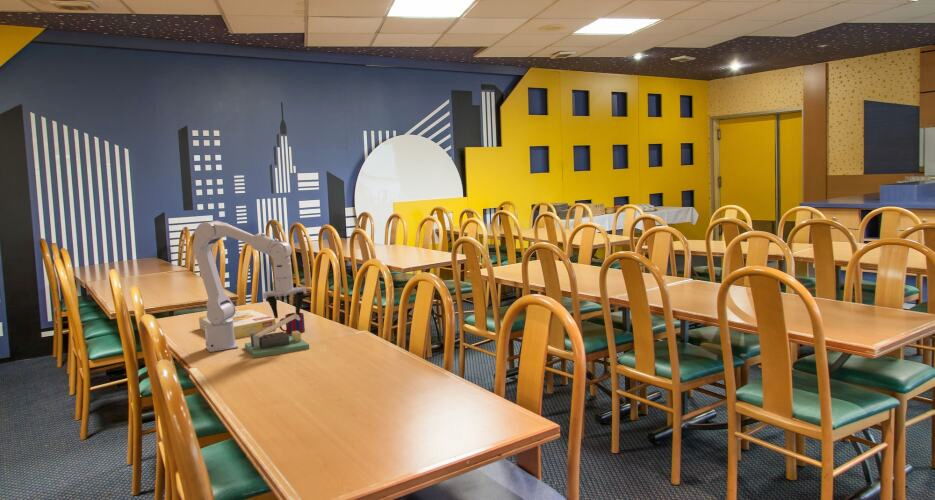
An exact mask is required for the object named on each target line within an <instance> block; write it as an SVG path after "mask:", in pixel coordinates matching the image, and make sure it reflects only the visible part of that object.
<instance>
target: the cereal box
mask: <svg viewBox="0 0 935 500" xmlns="http://www.w3.org/2000/svg"><path fill="white" fill-rule="evenodd" d="M198 321H199V322H198V323H199V328H200V330H202V331H204V332H205V325H209V324H211V322H210V321H209V320H208V318H207V315H205V316H200V317H199V318H198ZM276 323H277V322H276V318H274V317H272V316H270V315H267V314H264V313H262V312H258V311H256V310H253V309H251V308H247V307H246V308H241V309H236V311H235V314H234V316H233V324H234V336H235V339H240V338H245V337H250V333H253V332H255V333H256V334H257V333H259V332H261V331H263V330H265V329H267V328H269V327H270V326H272V325H274V324H276ZM276 330H277V328H276V329H275V330H273V331H272V332H274V331H276Z"/></svg>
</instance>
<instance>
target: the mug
mask: <svg viewBox="0 0 935 500" xmlns="http://www.w3.org/2000/svg"><path fill="white" fill-rule="evenodd" d="M295 313H296V312H290V313H287V314H285V316H284V317H283V318H280V320H279V322H280V321H282V320H284V319H286V318H288V317H289V316H291V315H294V314H295ZM299 317H300V319H301V320H299V321H298V320H297V319H296V318H295V319H293V320H292V321H290V322H288V323H286V324H285V328H286V329H284V328H282V326H280V327H279V329H280V330H281V332H284V333H286V335H292V331H299V332H300V333H301V334H302V333H303V334H304V333H305V331H306V330H305V327H306V326H305V315H304V313H303V312H300V315H299Z"/></svg>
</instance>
